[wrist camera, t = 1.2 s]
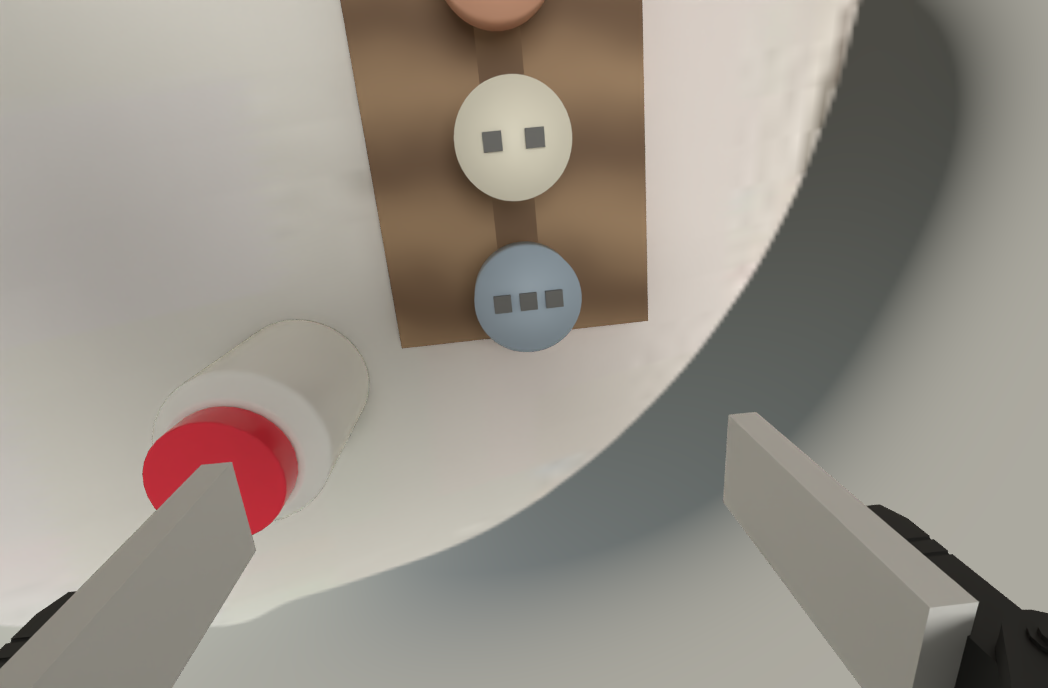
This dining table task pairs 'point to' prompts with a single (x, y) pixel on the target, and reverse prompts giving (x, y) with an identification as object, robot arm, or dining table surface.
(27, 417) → the dining table surface
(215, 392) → the pill bottle
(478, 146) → the button
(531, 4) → the button
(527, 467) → the dining table surface
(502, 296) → the button
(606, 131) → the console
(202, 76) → the dining table surface
